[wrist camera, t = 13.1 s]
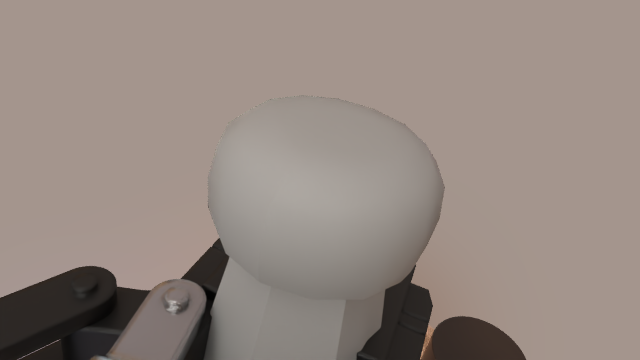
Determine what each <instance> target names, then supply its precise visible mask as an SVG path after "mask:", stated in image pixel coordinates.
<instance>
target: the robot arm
mask: <svg viewBox="0 0 640 360" xmlns="http://www.w3.org/2000/svg"><path fill="white" fill-rule="evenodd" d="M229 257H230V256H228V255H227V254H226V253H225V250H224V248H223V245H222V243H221V240H220V238H219V239H218V240H217V241H216V242H215V243H214V244H213V246H212V247H210V248H209V249H208V250H207V252H205V254H204V255H203V256H202V257H201V258H200V259H199V260H198V261H197V262H196V263H195V264H194V265H193V266H192V267H191V269H189V271H188V272H187V273H186V274H185V275H184V276H183V277H182V278H181V279H173V280H168V281H165V282H162V283H160V284H158V285H157V286H156V287H154V288H153V289H152V290H150V291H149V290H148V291H147V290H136V289H130V288H122V287H117V284H116V279H115V277H114V275H113V274H112V273H111V272H110V271H108V270H107V269H104V268H101V267H96V266H85V267H79V268H75V269H72V270H70V271H67V272H65V273H62V274H60V275H57V276H55V277H52V278H50V279H47V280H45V281H42V282H39V283H37V284H34V285H32V286H29V287H27V288H24V289H22V290H19V291H17V292H14V293H11V294H9V295H6V296H4V297H1V298H0V360H17V359H19V358H21V357H23V356H25V357H23V358H21V359H19V360H204V355H205V350H206V345H207V340H208V335H209V330H210V325H211V320H212V316H211V314H210V312H211V309H212V306H213V303H214V300H215V297H216V294H217V292H218V289H219V286H220V283H221V280H222V277H223V275H224V272H225V269H226V266H227V263H228V260H229ZM415 267H416V265H415V266H414V267H413V269H412V271H411V272H410V273H409V274H408V275H407V276H406V277H405V278H404V279H403V280H402V281H401V282H400V283H398V284H396V285H394V286H391V287H389V288H387V289H385V296H384V305H383V313H382V322H381V328H380V329H379V330H378V331H377V332H376V333H375V334H373V335H372V336H371V337H370V338H369V339H368V340H367V342H366V343H365V345H364V347H363V348H362V350H361V351H359V352H357V360H420V356H421V352H422V348H423V344H424V340H425V335H426V332H427V328H428V323H429V319H430V315H431V311H432V307H433V305H432V301H431V298H430V294H429V290H427V289H425V288H422V287H420V286H417V285H415V284H412V283H411V280H412V277H413V273H414V270H415ZM59 339H60V340H59ZM57 340H59V341H57ZM55 341H56V342H55ZM53 342H54V343H53ZM51 343H52V344H51ZM49 344H50V345H49ZM47 345H48V346H47ZM44 346H46V347H44ZM42 347H44V348H42ZM40 348H42V349H40ZM38 349H40V350H38ZM36 350H38V351H36ZM34 351H36V352H34ZM32 352H33V353H32ZM30 353H31V354H30ZM28 354H29V355H28ZM26 355H27V356H26Z"/></svg>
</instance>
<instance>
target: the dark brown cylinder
mask: <svg viewBox="0 0 640 360" xmlns="http://www.w3.org/2000/svg"><path fill="white" fill-rule="evenodd" d="M421 360H526V358H525V356H524V354H523V353H522V351H521V350H520V348H519V347H518V345H517V344H516V343H515V342H514V341H513V340H512V339H511V338H510V337H509V336H508V335H507V334H505V333H504V332H503V331H501V330H500V329H499V328H497V327H495V326H493V325H492V324H490V323H487V322H485V321H483V320H480V319H476V318H472V317H465V316H460V317H459V316H458V317H452V318H449V319H446V320H444V321H443V322H441V323H440V324H439V325H438V326H437V327H436V329H435V330H434V332H433V334H432V337H431V339H430V341H429V343H428V345H427V347H426V349H425V352H424V354H423V356H422V358H421Z"/></svg>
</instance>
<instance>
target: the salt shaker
mask: <svg viewBox="0 0 640 360" xmlns="http://www.w3.org/2000/svg"><path fill="white" fill-rule="evenodd" d="M444 188H445V187H444V184H443V181H442V178H441V175H440V172H439V168H438V165H437V162H436V160H435V159H434V157H433V155H432V154H431V152H430V150H429V149H428V147H427V145H426V144H425V143H424V142H423V141H422V140H421V139H420V138H419V137H418V136H417V135H416V134H415V133H414V132H412V131H411V130H410V129H409V128H408V127H407V126H406V125H405V124H403V123H401V122H399V121H397V120H395V119H393V118H391V117H389V116H387V115H385V114H383V113H381V112H379V111H377V110H375V109H372V108H369V107H365V106H362V105H358V104H355V103H351V102H348V101H344V100H340V99H335V98H324V97H313V96H294V97H285V98H277V99H270V100H268V101H266V102H264V103H262V104H260V105H258V106H256V107H255V108H252V109H250V110H249V111H247V112H245V113H244V114H242V115H240V116H239V117H237V118H236V119H234V120H232V121H231V122H229V123H228V125H227V127H226V129H225V131H224V133H223V135H222V137H221V139H220V141H219V143H218V145H217V148H216V151H215V155H214V158H213V162H212V165H211V169H210V172H209V176H208V208H209V210H210V213H211V216H212V219H213V222H214V224H215V227H216V229H217V232H218V234H219V237H220V240H221V243H222V245H223V248H224V250H225V253H226V254H227V255H228V256H230V257H229V260H228V263H227V266H226V269H225V272H224V275H223V277H222V280H221V283H220V286H219V289H218V292H217V294H216V297H215V300H214V303H213V306H212V309H211V312H210V314H211V316H212V320H211V325H210V330H209V335H208V340H207V345H206V350H205V355H204V360H357V352H359V351H361V350H362V348H363V347H364V345H365V343H366V342H367V340H368V339H369V338H370V337H371V336H372V335H373V334H375V333H376V332H377V331H378V330H379V329H380V328H381V322H382V313H383V305H384V296H385V289H387V288H389V287H391V286H394V285H396V284H398V283H400V282H401V281H402V280H403V279H404V278H405V277H406V276H407V275H408V274H409V273H410V272H411V271H412V269H413V267H414V266H415V264H416V262H417V261H418V259H419V257H420V255H421V254H422V252H423V251H424V249H425V247H426V246H427V244H428V242H429V240H430V238H431V235H432V233H433V231H434V229H435V227H436V225H437V222H438V220H439V217H440V212H441V206H442V200H443V194H444Z"/></svg>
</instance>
